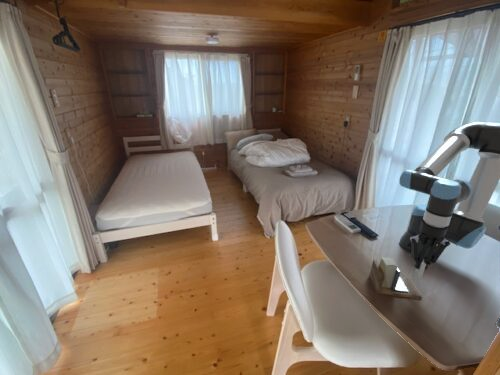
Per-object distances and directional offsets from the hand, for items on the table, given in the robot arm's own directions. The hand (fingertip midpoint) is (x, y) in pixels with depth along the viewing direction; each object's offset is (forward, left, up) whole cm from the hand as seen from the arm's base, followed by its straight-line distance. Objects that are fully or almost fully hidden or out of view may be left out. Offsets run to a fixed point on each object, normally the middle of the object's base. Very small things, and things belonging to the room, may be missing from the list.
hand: (418, 274), depth 94 cm
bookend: (+7, +1, -5) cm, 9 cm away
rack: (+8, +1, -7) cm, 10 cm away
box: (+12, +1, -6) cm, 13 cm away
